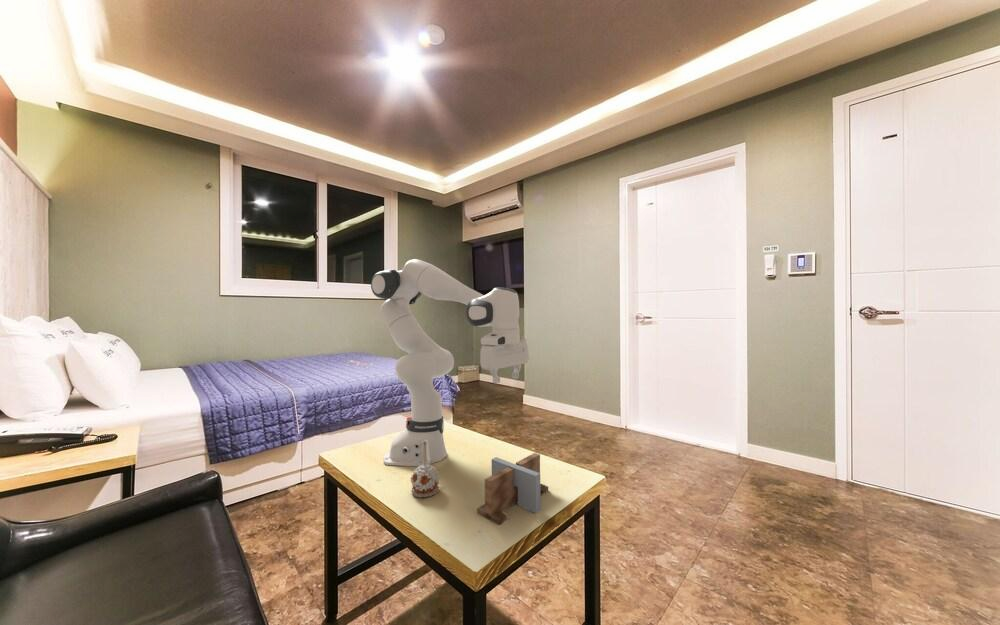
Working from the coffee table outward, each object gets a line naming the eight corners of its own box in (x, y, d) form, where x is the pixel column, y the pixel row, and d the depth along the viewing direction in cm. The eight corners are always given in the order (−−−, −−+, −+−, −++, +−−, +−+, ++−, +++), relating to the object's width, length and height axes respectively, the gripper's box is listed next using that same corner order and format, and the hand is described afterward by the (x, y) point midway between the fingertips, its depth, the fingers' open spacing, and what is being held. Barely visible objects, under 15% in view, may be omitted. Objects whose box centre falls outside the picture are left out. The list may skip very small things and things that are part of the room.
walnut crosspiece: (499, 524, 89) (499, 485, 89) (477, 512, 95) (476, 475, 95) (548, 490, 106) (548, 457, 106) (526, 482, 111) (526, 450, 111)
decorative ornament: (406, 496, 103) (406, 444, 103) (421, 483, 111) (420, 435, 110) (429, 501, 101) (429, 448, 100) (443, 488, 108) (442, 438, 108)
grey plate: (540, 510, 96) (540, 473, 96) (536, 513, 94) (535, 476, 94) (496, 490, 106) (496, 457, 106) (491, 493, 105) (491, 459, 105)
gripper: (518, 335, 124) (518, 374, 125) (476, 339, 109) (477, 384, 109) (532, 335, 120) (533, 376, 120) (491, 340, 105) (492, 387, 105)
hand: (506, 380), depth 115 cm, fingers open, 8 cm apart
